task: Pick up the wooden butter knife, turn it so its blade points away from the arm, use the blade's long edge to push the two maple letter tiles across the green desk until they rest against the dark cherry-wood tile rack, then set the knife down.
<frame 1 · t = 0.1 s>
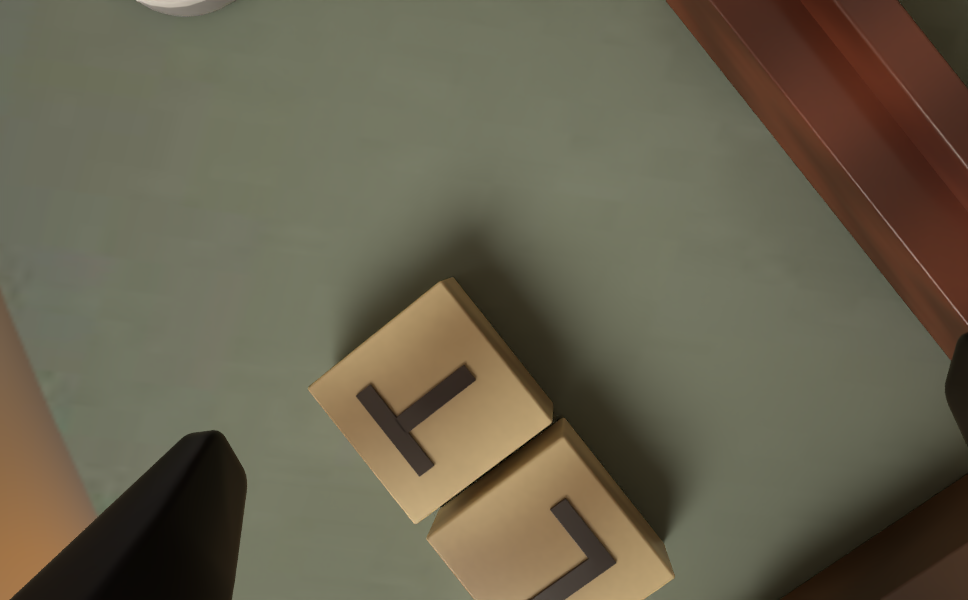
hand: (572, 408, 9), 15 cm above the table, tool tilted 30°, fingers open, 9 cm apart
tile rack: (869, 177, 22), on the table
letter tile L: (549, 526, 24), on the table
letter tile T: (440, 388, 24), on the table
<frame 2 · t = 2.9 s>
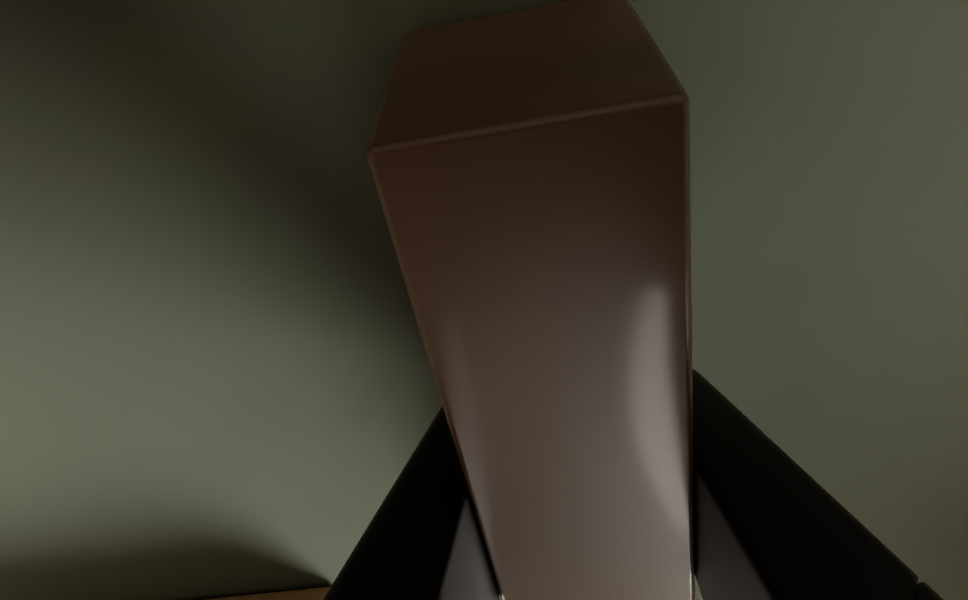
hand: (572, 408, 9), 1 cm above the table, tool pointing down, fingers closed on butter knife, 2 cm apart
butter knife: (598, 581, 13), on the table, touching gripper
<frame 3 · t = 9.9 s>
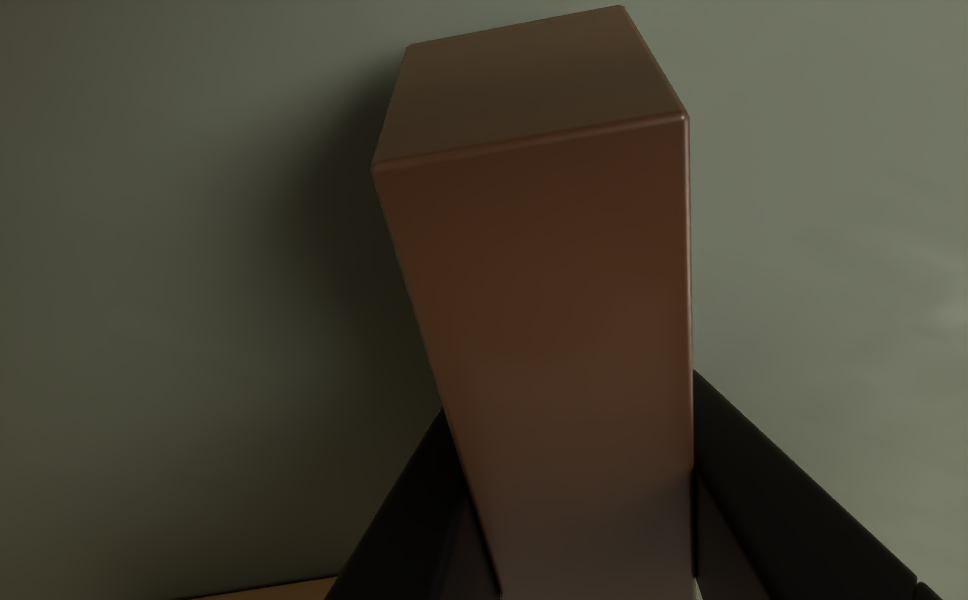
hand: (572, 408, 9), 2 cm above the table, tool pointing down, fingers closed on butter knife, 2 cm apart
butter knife: (600, 585, 13), point 1 cm above the table, touching gripper
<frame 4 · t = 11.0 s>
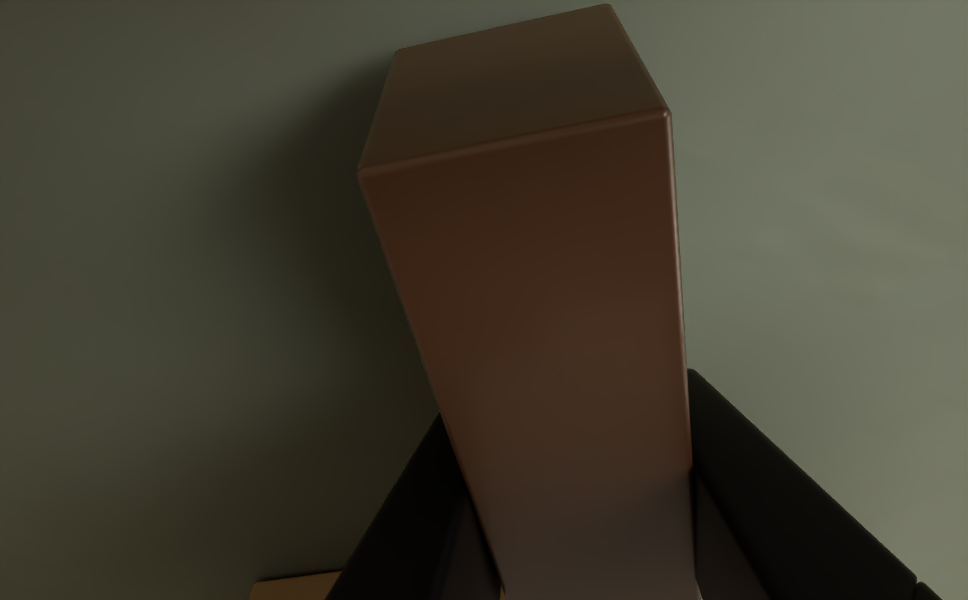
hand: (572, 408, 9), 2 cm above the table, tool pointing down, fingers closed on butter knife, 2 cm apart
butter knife: (609, 584, 13), point 1 cm above the table, touching gripper, letter tile L, letter tile T
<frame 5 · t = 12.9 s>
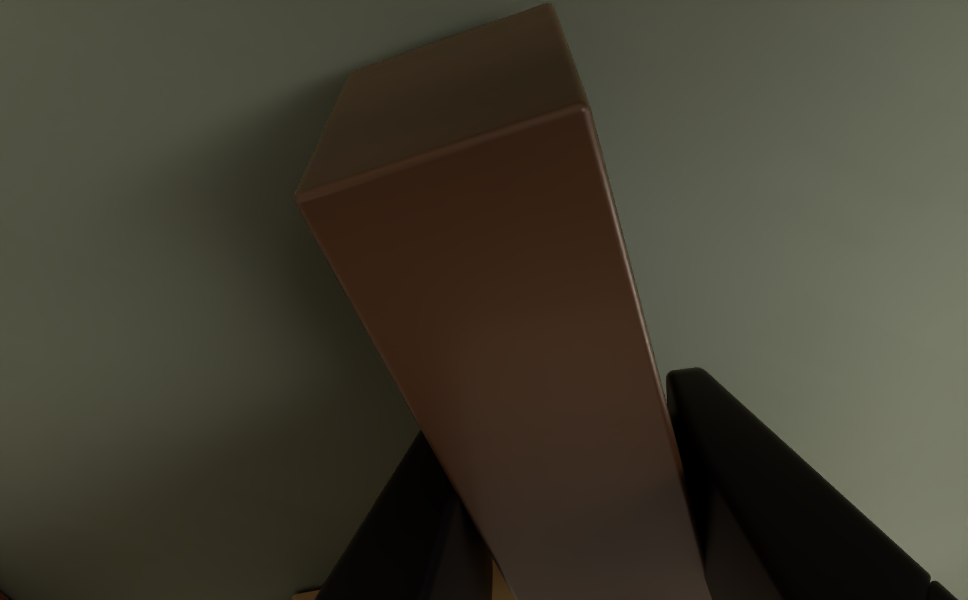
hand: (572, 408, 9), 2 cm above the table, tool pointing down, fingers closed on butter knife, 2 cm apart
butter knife: (641, 580, 13), point 1 cm above the table, touching gripper, letter tile L, letter tile T
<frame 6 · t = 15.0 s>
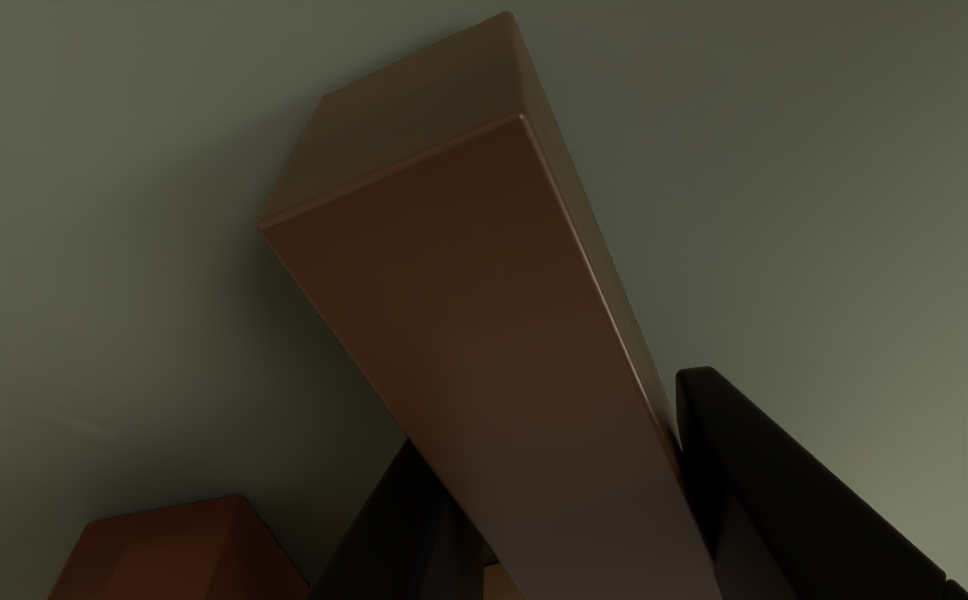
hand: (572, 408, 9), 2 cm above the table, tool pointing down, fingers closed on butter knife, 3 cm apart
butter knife: (671, 575, 13), point 1 cm above the table, touching gripper, letter tile L
when the fingers open (1 cm above the table, at t = 17.2 s): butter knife stays where it is, on the table.
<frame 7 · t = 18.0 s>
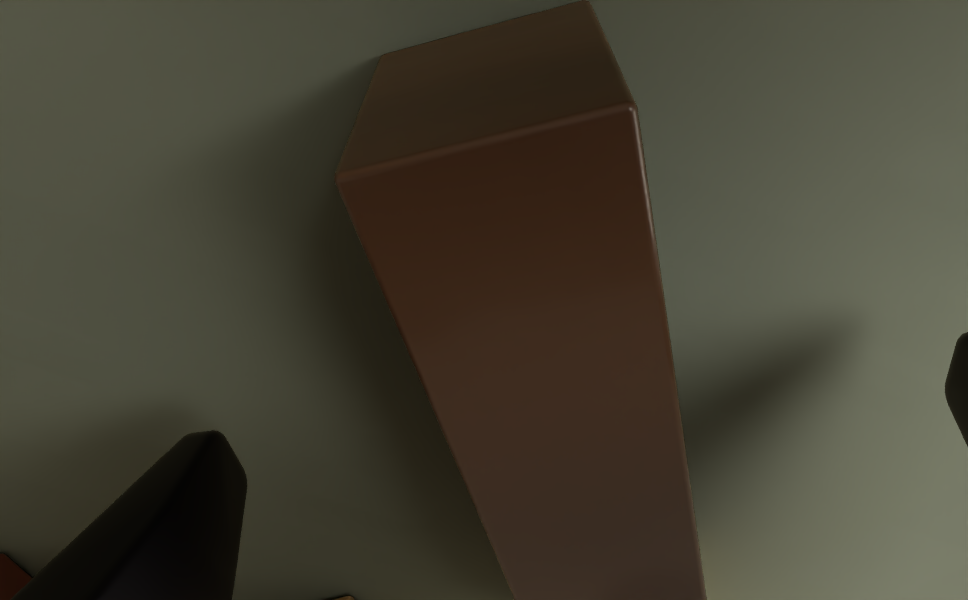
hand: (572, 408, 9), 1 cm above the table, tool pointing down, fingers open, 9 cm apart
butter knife: (623, 576, 13), on the table
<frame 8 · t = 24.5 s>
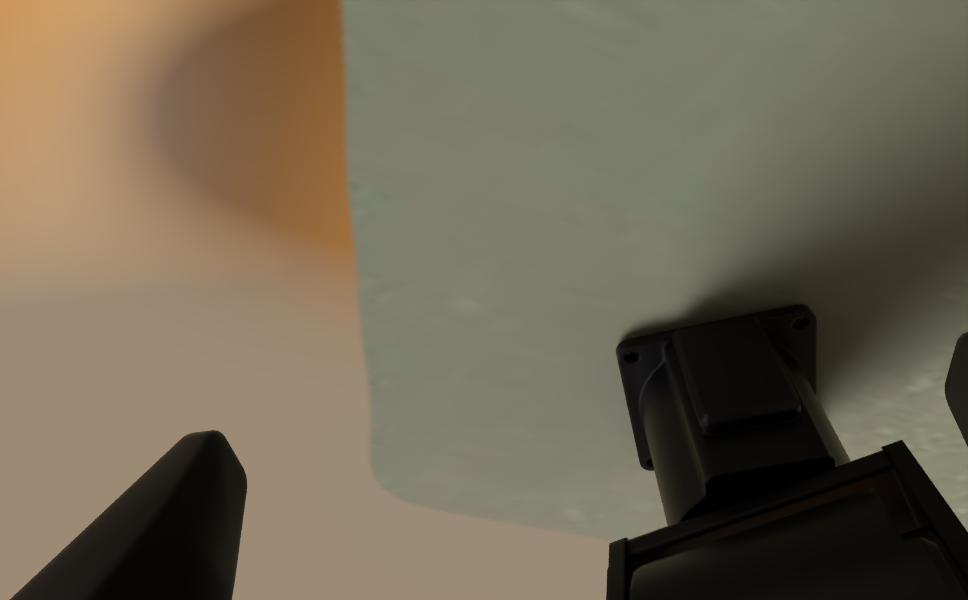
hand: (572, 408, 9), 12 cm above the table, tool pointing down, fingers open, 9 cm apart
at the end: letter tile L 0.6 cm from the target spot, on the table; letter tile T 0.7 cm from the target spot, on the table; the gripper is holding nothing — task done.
